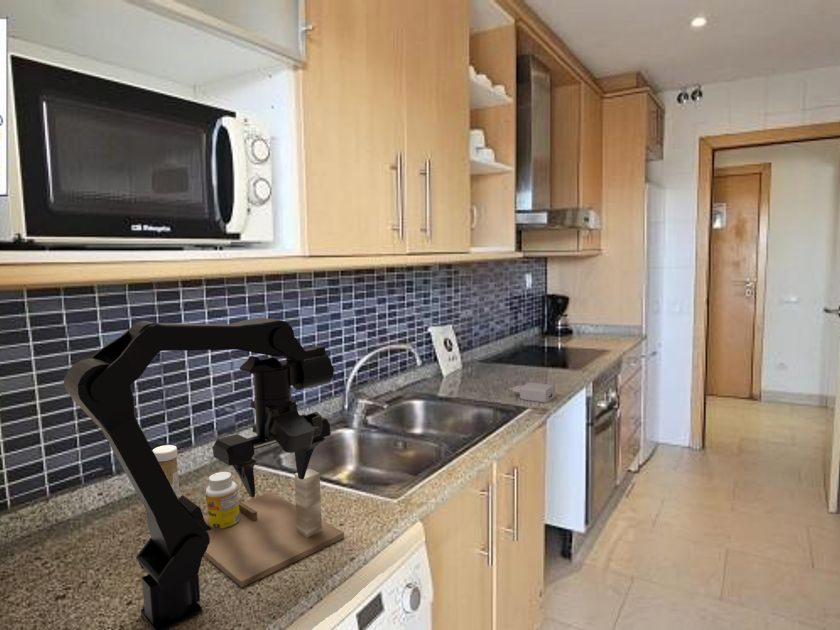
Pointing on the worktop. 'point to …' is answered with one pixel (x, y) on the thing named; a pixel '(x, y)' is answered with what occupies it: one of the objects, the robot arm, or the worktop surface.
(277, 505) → the square wooden board
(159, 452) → the sprinkles bottle
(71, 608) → the worktop surface
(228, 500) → the supplement bottle
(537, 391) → the charger
